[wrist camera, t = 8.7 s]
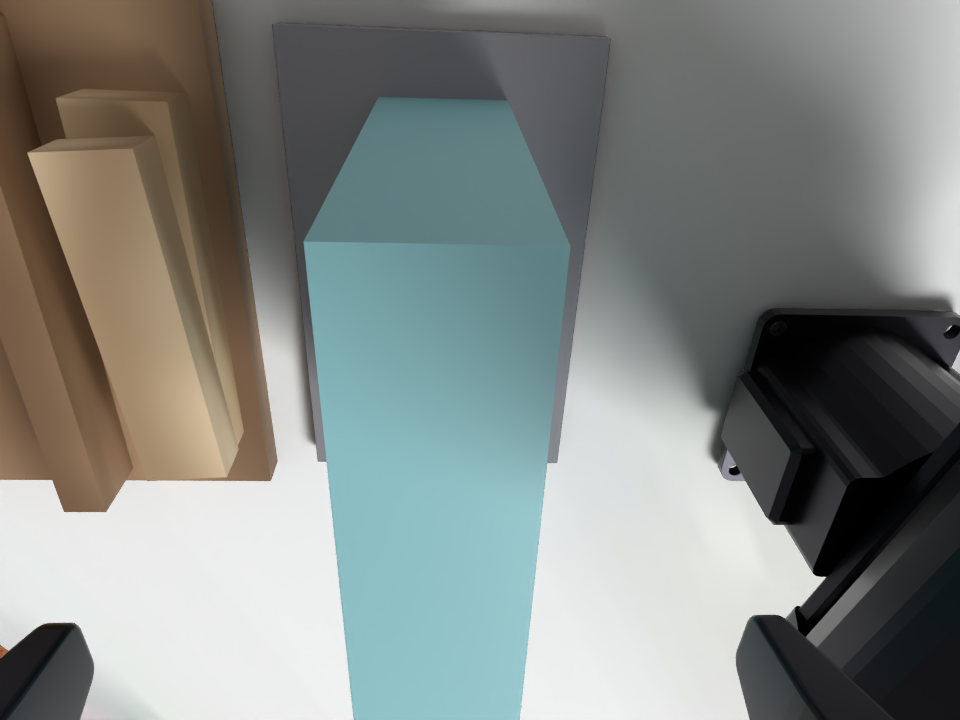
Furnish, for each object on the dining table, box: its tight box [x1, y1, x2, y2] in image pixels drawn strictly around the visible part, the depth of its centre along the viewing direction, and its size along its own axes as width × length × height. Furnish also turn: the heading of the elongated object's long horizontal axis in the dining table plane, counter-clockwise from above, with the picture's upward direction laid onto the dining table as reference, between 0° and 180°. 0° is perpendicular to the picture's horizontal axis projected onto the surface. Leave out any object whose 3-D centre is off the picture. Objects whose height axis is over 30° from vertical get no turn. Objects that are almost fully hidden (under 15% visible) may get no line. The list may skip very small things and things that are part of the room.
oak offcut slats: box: [27, 89, 244, 481], centre depth 17 cm, size 3×10×2 cm, turn 178°
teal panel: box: [304, 97, 570, 720], centre depth 15 cm, size 3×10×10 cm, turn 178°
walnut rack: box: [0, 0, 277, 512], centre depth 18 cm, size 12×14×3 cm
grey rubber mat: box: [272, 23, 611, 463], centre depth 19 cm, size 8×13×1 cm, turn 178°
